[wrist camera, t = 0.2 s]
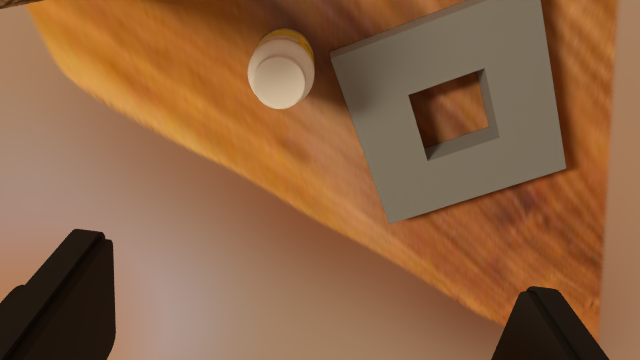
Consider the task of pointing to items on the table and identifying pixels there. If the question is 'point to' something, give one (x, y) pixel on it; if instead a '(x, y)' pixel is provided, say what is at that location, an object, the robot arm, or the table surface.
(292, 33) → the supplement bottle
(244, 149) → the table surface
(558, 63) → the table surface
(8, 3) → the paper tube
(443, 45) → the socket board
